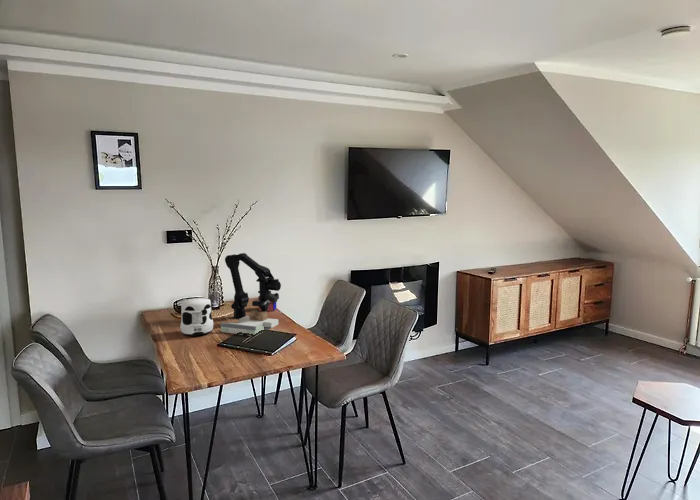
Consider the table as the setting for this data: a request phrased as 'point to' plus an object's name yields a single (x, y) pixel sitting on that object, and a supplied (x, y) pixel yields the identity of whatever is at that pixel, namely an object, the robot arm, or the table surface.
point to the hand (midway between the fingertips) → (264, 314)
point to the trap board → (248, 325)
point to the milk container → (196, 316)
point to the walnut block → (258, 315)
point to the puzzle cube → (270, 306)
